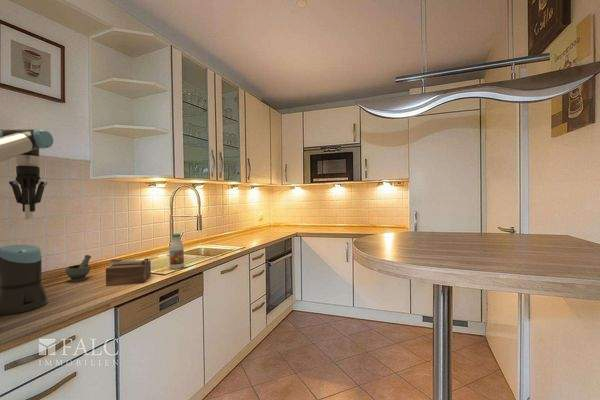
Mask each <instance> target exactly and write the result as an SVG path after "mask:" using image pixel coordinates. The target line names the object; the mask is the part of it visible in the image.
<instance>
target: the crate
mask: <svg viewBox="0 0 600 400" xmlns="http://www.w3.org/2000/svg"><path fill="white" fill-rule="evenodd" d="M143 260H147V262H145V261H141V264H136V263H112V265H109V266H107V267H106V268H105V286H108V287H110V286H120V285H121V286H123V285H130V284H131V285H134V284H144V283H146V281H147V280H148V279H149V277H151V275H152V274H151V271H152V269H151V268H152V267H151V266H152V265H151V260H149V258H144V259H143Z"/></svg>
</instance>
